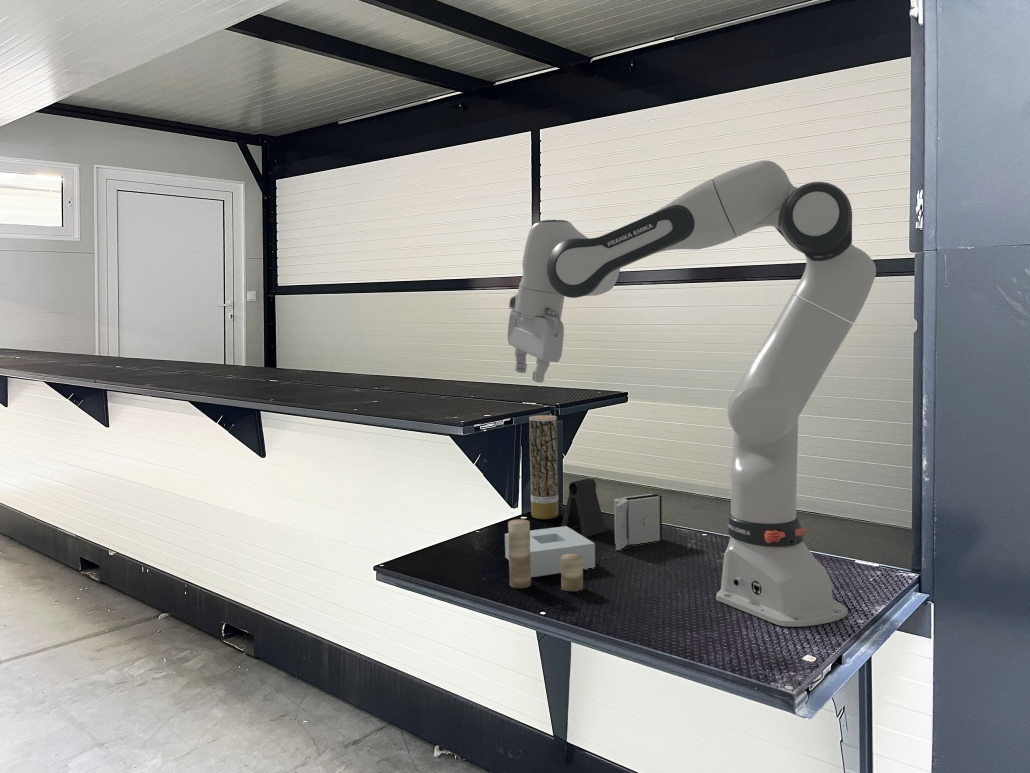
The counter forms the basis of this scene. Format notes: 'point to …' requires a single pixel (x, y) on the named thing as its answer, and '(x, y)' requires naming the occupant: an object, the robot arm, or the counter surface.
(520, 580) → the tall pin
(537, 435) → the bark-patterned tube
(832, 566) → the counter surface
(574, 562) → the short pin
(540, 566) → the hole board
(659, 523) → the hinge
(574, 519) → the phone stand
